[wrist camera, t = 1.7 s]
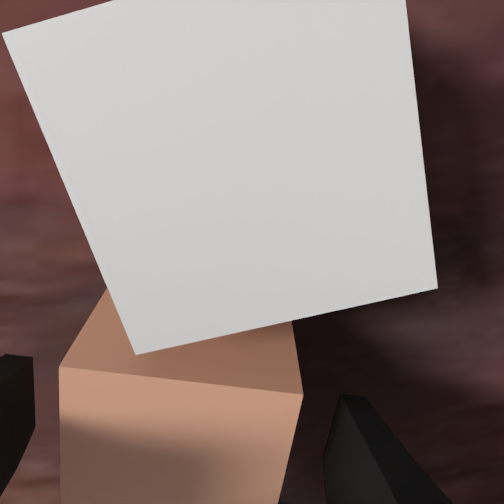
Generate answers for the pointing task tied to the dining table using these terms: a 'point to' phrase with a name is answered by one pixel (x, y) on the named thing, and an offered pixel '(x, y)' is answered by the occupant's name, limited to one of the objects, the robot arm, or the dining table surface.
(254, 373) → the terracotta cube
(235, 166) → the white cube
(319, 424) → the dining table surface
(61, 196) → the dining table surface
